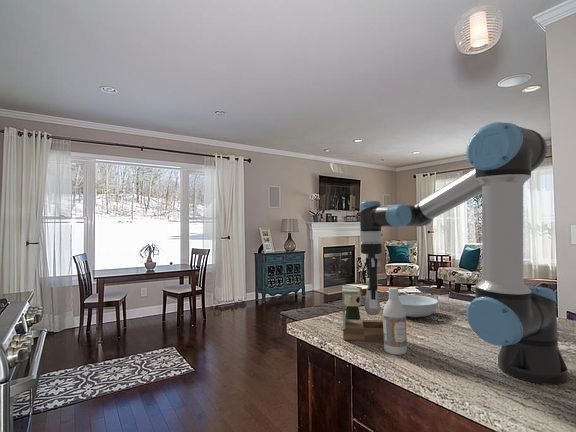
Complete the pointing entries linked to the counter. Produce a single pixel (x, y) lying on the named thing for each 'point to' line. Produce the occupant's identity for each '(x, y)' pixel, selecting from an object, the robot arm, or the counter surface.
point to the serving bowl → (418, 305)
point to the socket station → (360, 323)
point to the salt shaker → (369, 310)
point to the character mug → (353, 306)
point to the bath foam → (394, 325)
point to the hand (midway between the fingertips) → (372, 305)
